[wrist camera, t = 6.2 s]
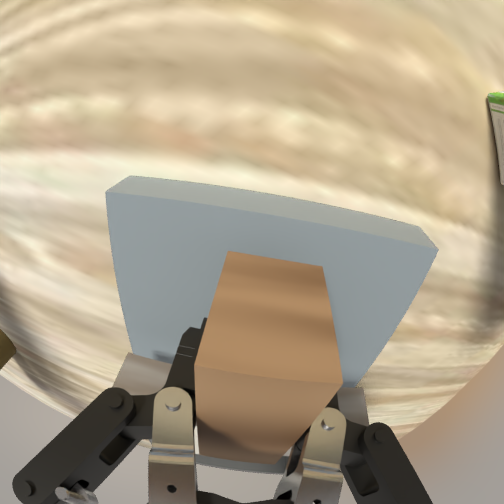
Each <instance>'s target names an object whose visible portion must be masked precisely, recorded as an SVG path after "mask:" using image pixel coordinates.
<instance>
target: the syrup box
mask: <svg viewBox="0 0 504 504" xmlns="http://www.w3.org/2000/svg"><path fill="white" fill-rule="evenodd" d="M487 99H488V102H489V107H490V112H491V117H492V122H493V127H494V133H495V139H496V145H497V153H498V160H499V170H500V182H501V184H502V185H504V91H502V92H496V93H489V94H488V96H487Z"/></svg>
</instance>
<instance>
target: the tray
mask: <svg viewBox="0 0 504 504" xmlns="http://www.w3.org/2000/svg"><path fill="white" fill-rule="evenodd" d="M149 441H150V442H151V444H152V439H149ZM195 457H196V464H200V465H205V466H211V467H216V468H223V469H229V470H236V471H245V472H255V473H266V474H284V472H285V468H286V465H287V462H288V458H289V456H282V457H281V458H280V459H279V460H278V461H277V462H276V464H275V465H273V464H260V463H250V462H241V461H233V460H226V459H220V458H214V457H208V456H203V455H199V454H195Z"/></svg>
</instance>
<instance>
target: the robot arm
mask: <svg viewBox="0 0 504 504" xmlns="http://www.w3.org/2000/svg"><path fill="white" fill-rule="evenodd" d="M207 319H208V318H206V317H204V319H203V322H202V325H201V328H200V329H199V328H194V327H189V328H188V329H187V330H186V331H185V332H184V333H183V334H182V337H181V340H180V343H179V346H178V348H177V351H176V354H175V357H174V360H173V363H172V366H171V369H170V372H169V375H168V378H167V381H166V383H165V385H164V387H163V388H162V389H161V390H160V391H158V392H156V393H154V394H150V395H130V394H129V392H127V391H126V390H125V389H122V388H119V387H112V388H108V389H106V390H105V391H103V392H102V393H101V394H100V395H99V396H98V397H97V398H96V399H95V400H94V401H93V402H92V403H91V404H90V405H89V406H87V407H86V408H85V409H84V410H83V411H82V412H81V413H80V414H79V415H78V416H77V417H76V418H75V419H74V420H73V421H72V422H71V423H70V424H69V425H68V426H67V427H65V428H64V430H62V431H61V432H60V433H59V434H58V435H57V436H56V437H55V438H54V439H53V440H52V441H51V442H50V443H49V444H48V445H47V446H46V447H45V448H44V449H42V451H40V452H39V453H38V455H36V456H35V457H34V458H33V459H32V460H31V461H30V462H29V463H28V464H27V465H26V466H25V467H24V468H23V469H22V470H21V471H20V472H19V473H17V474H16V475H15V477H14V479H13V483H12V485H13V490H14V493H15V495H16V497H17V498H18V499H19V500H20V501H21V502H22V503H23V504H98V500H97V498H96V496H95V494H94V493H93V492H94V490H95V489H96V488H97V487H98V486H99V485H100V484H101V483H102V482H103V481H104V480H105V479H106V478H107V477H108V476H109V475H110V474H111V472H112V471H113V470H114V469H115V468H116V467H117V466H118V465H119V464H120V463H121V462H122V461H123V459H124V458H125V457H126V456H127V455H128V454H129V453H130V452H131V451H132V449H133V448H134V447H135V446H136V445H137V444H138V443H139V442H140V441H141V440H142V439H152V448H151V450H150V452H149V460H148V493H149V494H148V496H149V503H147V504H313V502H314V503H315V504H338V502H339V497H340V492H341V488H342V484H343V476H344V478H345V480H346V482H347V484H348V486H349V488H350V490H351V492H352V494H353V496H354V498H355V500H356V502H357V504H433V503H432V501H431V499H430V498H429V495H428V494H427V492H426V490H425V488H424V486H423V485H422V483H421V481H420V479H419V477H418V476H417V474H416V472H415V470H414V468H413V466H412V465H411V463H410V461H409V459H408V458H407V456H406V454H405V452H404V451H403V449H402V447H401V445H400V444H399V442H398V440H397V438H396V437H395V435H394V433H393V431H392V430H391V428H390V427H389V426H387V425H386V424H384V423H380V422H377V423H373V424H371V425H369V426H364V425H361V424H357V423H354V422H351V421H349V420H348V419H346V418H345V417H344V415H343V414H342V413H341V412H340V409H339V405H338V396H337V392H336V394H335V395H334V396H333V398H332V399H331V400H330V402H329V403H328V404H327V406H326V407H325V408H324V409H323V411H322V412H321V413H320V414H319V416H318V417H317V418H316V419H315V420H314V422H313V423H312V424H311V425H310V426H309V428H308V429H307V430H306V431H305V432H304V433H303V434H302V436H301V437H300V438H299V439H298V440H297V441H296V442H295V443H294V445H293V446H292V448H291V452H290V455H289V458H288V462H287V465H286V468H285V472H284V475H283V477H282V479H281V481H280V483H279V485H278V487H277V489H276V492H275V495H274V498H273V499H271V500H266V501H259V502H251V503H239V502H236V501H233V500H231V499H228V498H225V497H222V496H219V495H217V494H214V493H208V492H203V491H198V485H197V472H196V457H195V437H194V429H195V426H196V422H197V418H196V399H195V372H194V364H195V361H196V357H197V353H198V350H199V346H200V343H201V339H202V336H203V332H204V329H205V326H206V322H207ZM340 469H341V471H342V472H341V471H340Z"/></svg>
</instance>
